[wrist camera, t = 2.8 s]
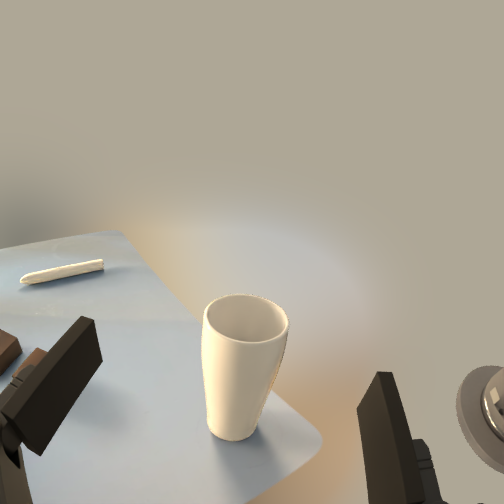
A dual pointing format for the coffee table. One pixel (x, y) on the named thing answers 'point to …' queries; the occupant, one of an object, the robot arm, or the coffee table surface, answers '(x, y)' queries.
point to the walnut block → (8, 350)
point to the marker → (62, 272)
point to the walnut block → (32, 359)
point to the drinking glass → (240, 361)
